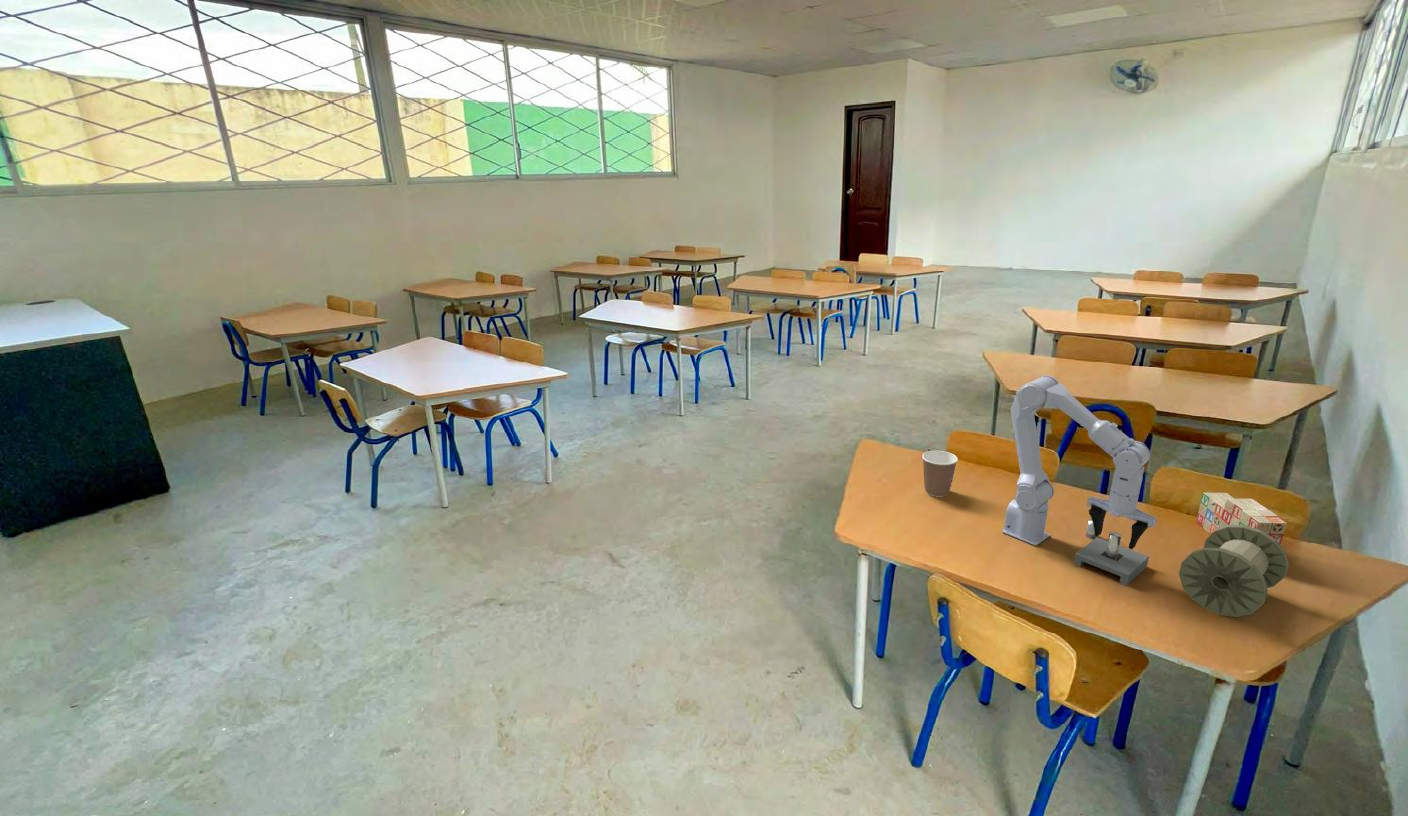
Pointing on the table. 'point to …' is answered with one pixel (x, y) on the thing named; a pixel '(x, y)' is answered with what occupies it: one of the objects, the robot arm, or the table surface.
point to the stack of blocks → (1238, 514)
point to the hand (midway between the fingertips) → (1114, 541)
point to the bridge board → (1124, 567)
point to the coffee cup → (938, 472)
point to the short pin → (1090, 530)
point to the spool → (1234, 570)
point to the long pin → (1113, 545)
